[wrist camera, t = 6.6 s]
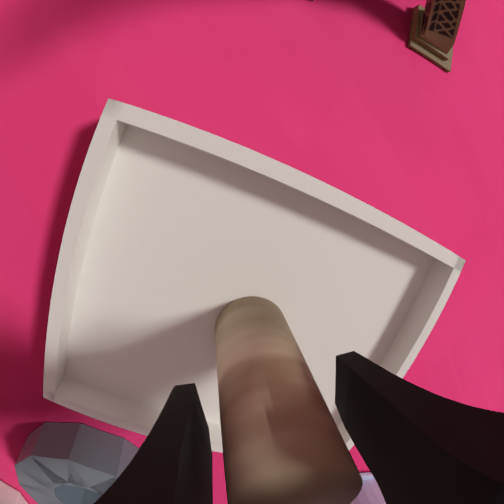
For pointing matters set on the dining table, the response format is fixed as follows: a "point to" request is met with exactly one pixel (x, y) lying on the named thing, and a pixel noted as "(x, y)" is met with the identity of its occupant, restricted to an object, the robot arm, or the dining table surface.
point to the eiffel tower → (436, 30)
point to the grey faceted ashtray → (71, 463)
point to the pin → (275, 415)
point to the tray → (220, 271)
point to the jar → (10, 495)
